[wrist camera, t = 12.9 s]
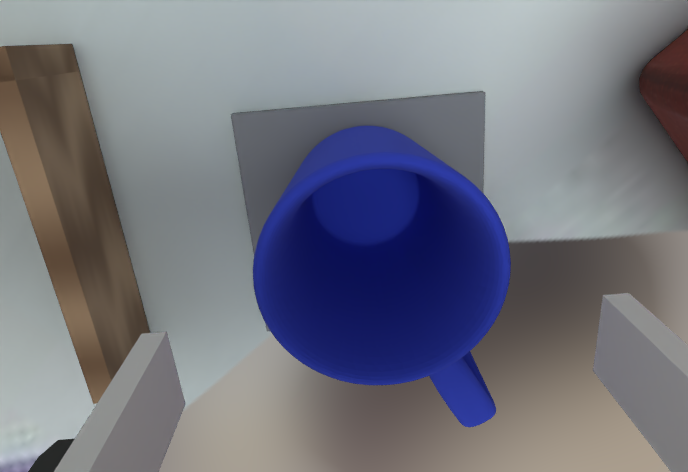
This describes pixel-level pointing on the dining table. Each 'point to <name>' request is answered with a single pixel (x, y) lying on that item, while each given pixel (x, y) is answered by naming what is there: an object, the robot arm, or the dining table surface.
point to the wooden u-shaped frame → (71, 205)
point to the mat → (322, 121)
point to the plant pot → (669, 90)
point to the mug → (384, 267)
